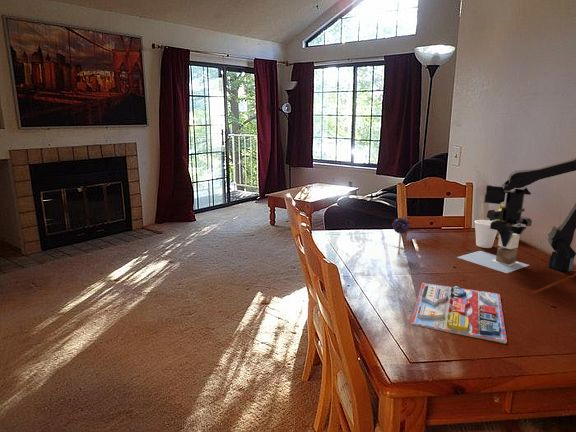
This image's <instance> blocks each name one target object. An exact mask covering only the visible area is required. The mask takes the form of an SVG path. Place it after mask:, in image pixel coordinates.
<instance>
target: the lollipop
mask: <svg viewBox="0 0 576 432" xmlns="http://www.w3.org/2000/svg"><path fill="white" fill-rule="evenodd" d="M391 227H392V228H393V230H394V232H395V233H397V234H399V235H398V237H399V239H398V248H397V254H398V255H400V253H401V252H400V251H401V242H402V241H401V240H402V234H403V235H404V234H406V233H408V231H409V230H410V228H411V224H410V222H409V220H408V219H407V218H405V217H397V218H396V219H394V220H393V222H392V224H391Z"/></svg>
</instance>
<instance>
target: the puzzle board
mask: <svg viewBox="0 0 576 432" xmlns="http://www.w3.org/2000/svg"><path fill="white" fill-rule="evenodd" d="M412 313H413V314H412V316H411V317H412V318H411V321H410V325H411V326H416V327H420V328H421V327H422V328H426V329H430V330H437V331H439V332H440V331H441V332H447V333H451V334H455V335H461V336H466V337H471V338H476V339H482V340H486V341H492V342H495V343H496V342H497V343H499V344H504V345H505V344H507V343H508V339H507V333H506V327H505V325H506V324H505V319H504V318H505V317H504V313H503V306H502V301H501V294H500V293H496V292H489V291H483V290H476V289H469V288H462V287H460V286H459V285H455V286H449V285H442V284H435V283H427V282H422V283H421V286H420V290H419V293H418V297H417V299H416V302H415V307H414V311H413V312H412Z"/></svg>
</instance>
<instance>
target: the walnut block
mask: <svg viewBox="0 0 576 432" xmlns="http://www.w3.org/2000/svg"><path fill="white" fill-rule="evenodd" d="M495 255H496V261H498V262H502V263H505V264H508V265H509V264H512V263H515V262H516V261H517V255H518V249H517V248H514V249H508V248H504V247H500V246H499V247H498V248H497V250H496V254H495Z"/></svg>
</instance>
